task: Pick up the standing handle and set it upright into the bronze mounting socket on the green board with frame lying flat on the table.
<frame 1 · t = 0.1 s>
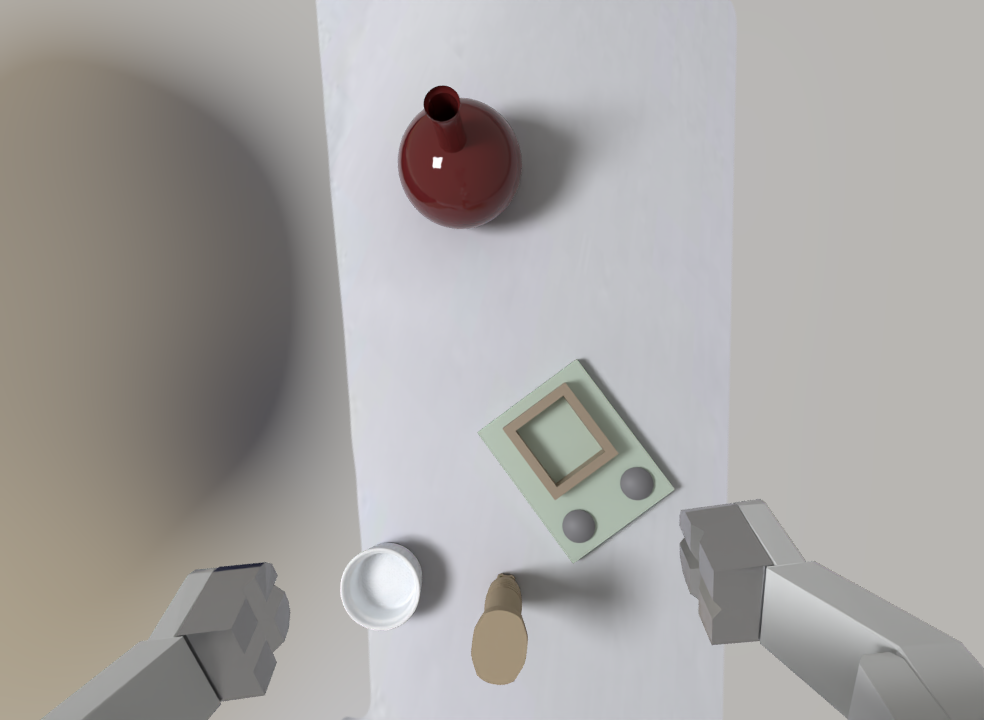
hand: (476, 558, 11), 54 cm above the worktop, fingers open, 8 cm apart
round-bottom flask: (466, 187, 67), on the worktop
handle: (505, 585, 65), on the worktop
green board with frame: (573, 458, 65), on the worktop
ramekin: (389, 575, 66), on the worktop
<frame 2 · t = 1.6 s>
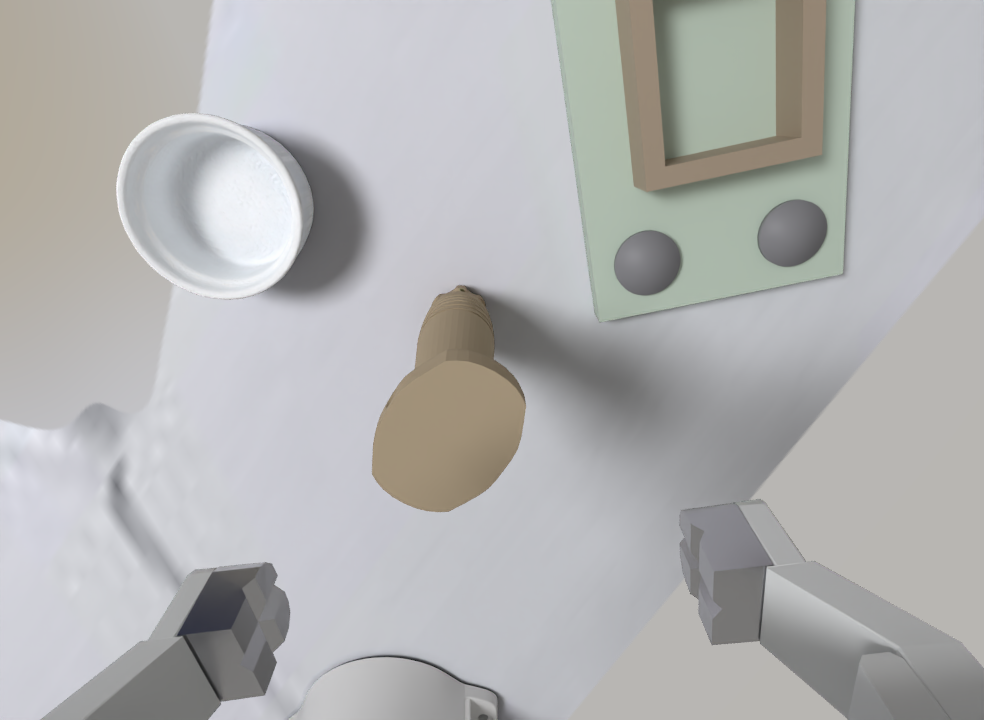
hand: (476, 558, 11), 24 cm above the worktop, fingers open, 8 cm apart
handle: (459, 308, 34), on the worktop
green board with frame: (701, 133, 30), on the worktop
ramekin: (245, 200, 32), on the worktop
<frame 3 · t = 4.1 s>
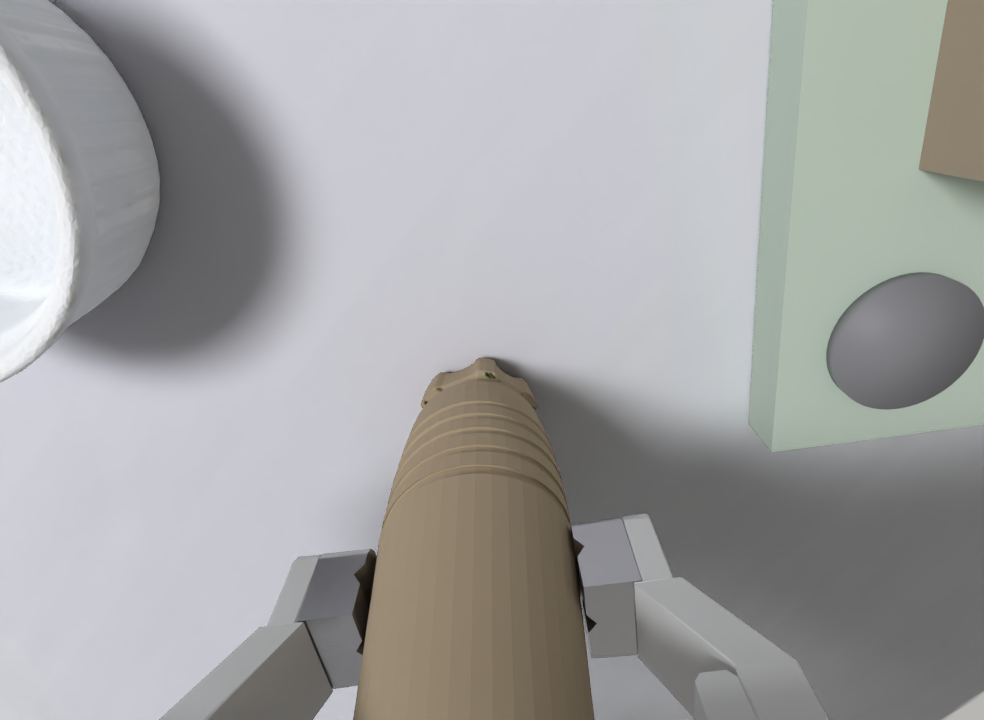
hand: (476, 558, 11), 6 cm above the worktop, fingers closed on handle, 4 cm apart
handle: (478, 399, 17), on the worktop, touching gripper
ramekin: (5, 149, 14), on the worktop
when the fingers open (9 cm above the worktop, at t = 10.0 s): handle stays where it is, resting on green board with frame.
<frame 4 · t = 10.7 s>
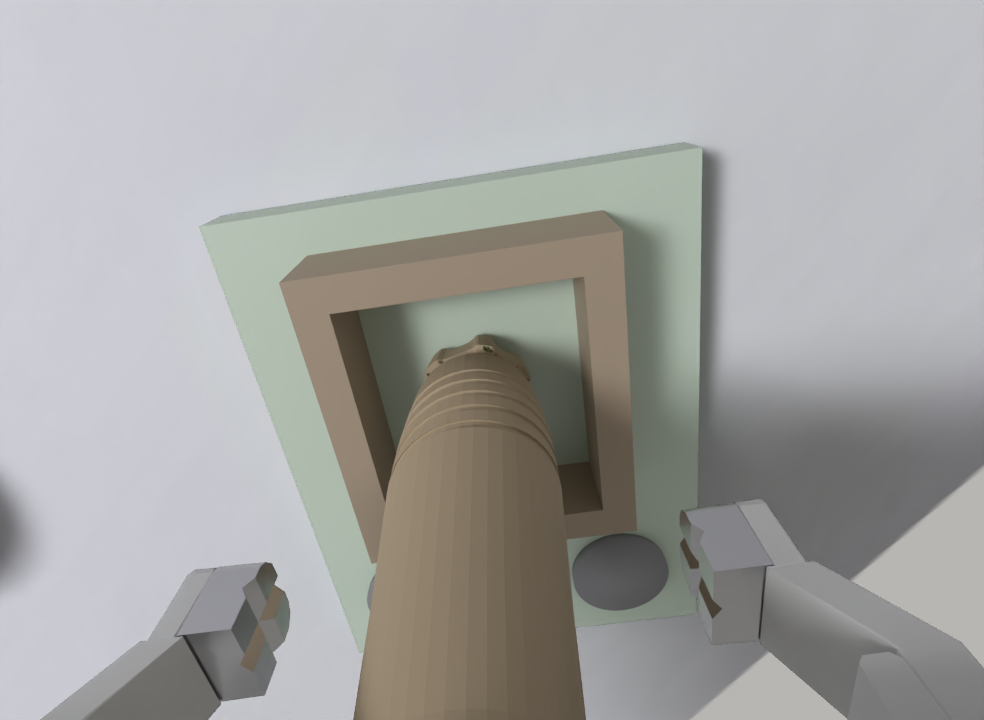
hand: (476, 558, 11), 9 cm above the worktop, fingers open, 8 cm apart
handle: (477, 374, 18), point 1 cm above the worktop, touching green board with frame
green board with frame: (492, 431, 21), on the worktop
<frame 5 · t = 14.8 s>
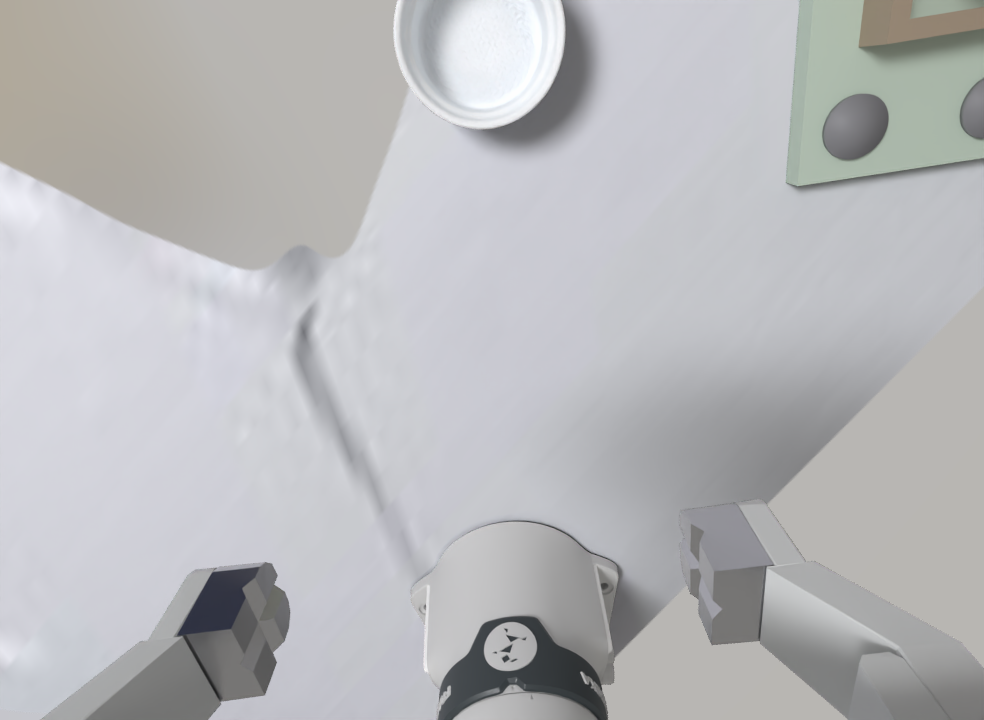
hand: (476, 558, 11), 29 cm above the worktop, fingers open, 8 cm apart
green board with frame: (922, 1, 32), on the worktop
ramekin: (480, 43, 33), on the worktop
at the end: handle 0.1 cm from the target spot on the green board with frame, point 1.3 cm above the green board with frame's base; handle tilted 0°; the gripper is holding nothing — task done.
